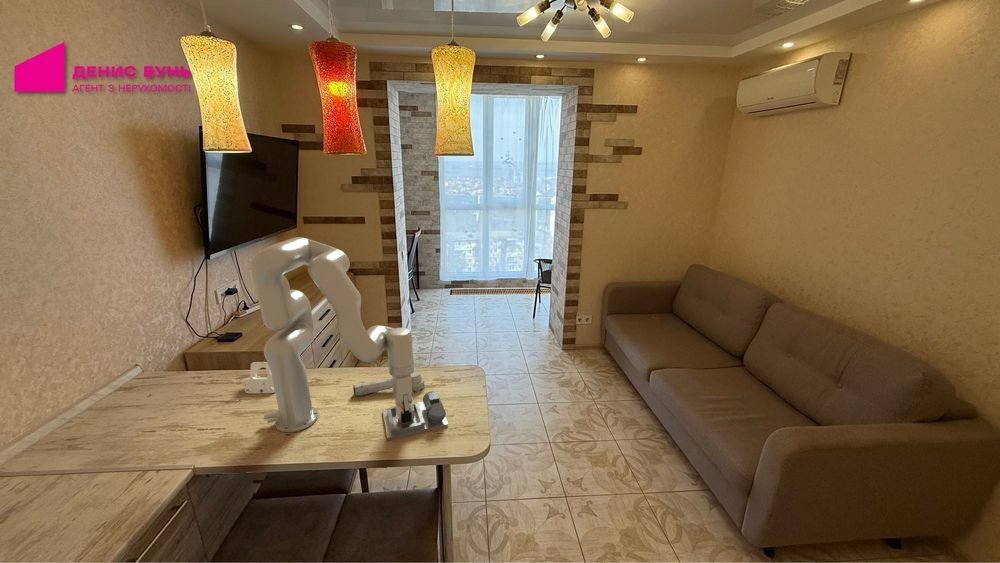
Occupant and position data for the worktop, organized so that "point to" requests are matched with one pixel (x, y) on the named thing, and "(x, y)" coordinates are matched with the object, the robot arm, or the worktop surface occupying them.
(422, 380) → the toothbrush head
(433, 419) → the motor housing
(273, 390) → the mounting bracket
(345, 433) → the worktop surface
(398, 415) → the cylinder
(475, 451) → the worktop surface
